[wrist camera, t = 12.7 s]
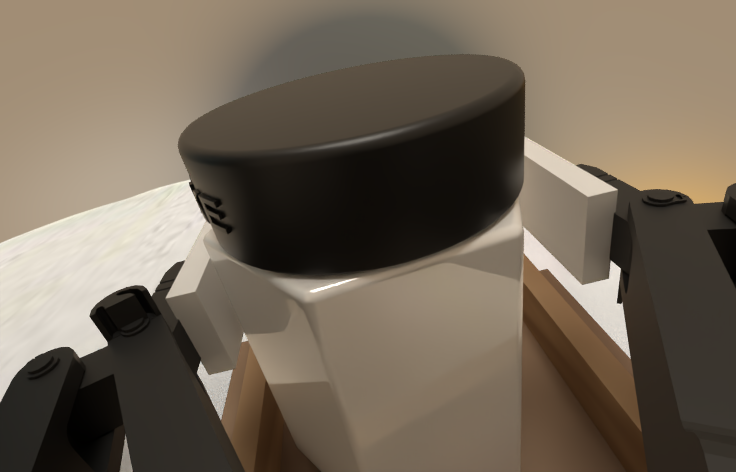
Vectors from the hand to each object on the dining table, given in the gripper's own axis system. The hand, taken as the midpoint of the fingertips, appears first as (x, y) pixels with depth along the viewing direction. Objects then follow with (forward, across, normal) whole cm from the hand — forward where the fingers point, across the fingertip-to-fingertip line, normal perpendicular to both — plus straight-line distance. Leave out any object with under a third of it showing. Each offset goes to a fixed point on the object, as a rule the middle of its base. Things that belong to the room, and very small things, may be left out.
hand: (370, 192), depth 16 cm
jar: (-4, 0, -8) cm, 9 cm away
